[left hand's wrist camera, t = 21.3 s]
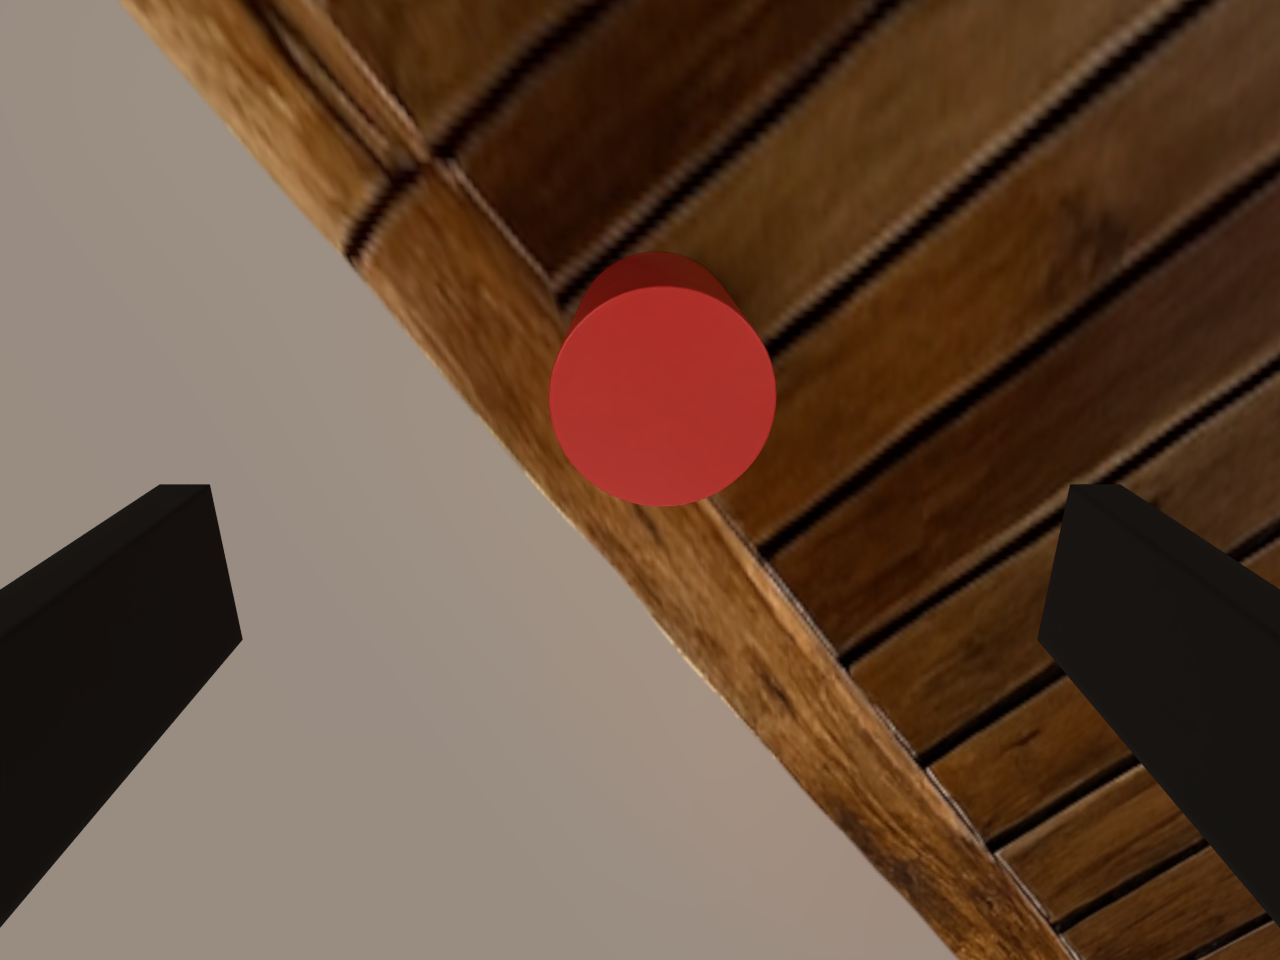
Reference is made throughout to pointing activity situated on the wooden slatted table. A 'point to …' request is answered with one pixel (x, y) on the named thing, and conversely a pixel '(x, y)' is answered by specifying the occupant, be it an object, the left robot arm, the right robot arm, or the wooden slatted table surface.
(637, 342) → the tin
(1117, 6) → the wooden slatted table surface
